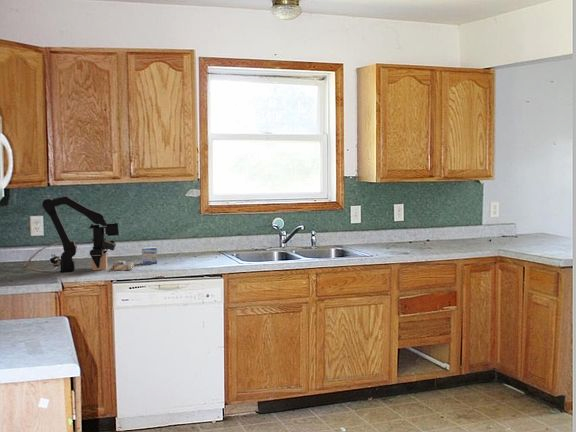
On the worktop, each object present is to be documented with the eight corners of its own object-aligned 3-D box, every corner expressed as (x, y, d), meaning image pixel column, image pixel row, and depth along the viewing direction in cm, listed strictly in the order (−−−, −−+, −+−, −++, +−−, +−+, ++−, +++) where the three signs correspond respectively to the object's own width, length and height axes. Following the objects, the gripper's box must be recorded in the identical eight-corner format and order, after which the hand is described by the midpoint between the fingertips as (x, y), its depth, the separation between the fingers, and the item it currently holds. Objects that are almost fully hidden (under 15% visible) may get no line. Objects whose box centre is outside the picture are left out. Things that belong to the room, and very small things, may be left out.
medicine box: (142, 264, 372) (142, 248, 371) (142, 263, 376) (141, 247, 375) (157, 263, 374) (157, 247, 373) (156, 262, 378) (156, 246, 377)
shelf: (111, 271, 354) (111, 266, 354) (115, 267, 365) (115, 262, 365) (131, 270, 355) (130, 265, 354) (134, 266, 366) (134, 261, 365)
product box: (92, 270, 357) (91, 254, 356) (94, 268, 361) (93, 253, 360) (106, 269, 358) (105, 254, 357) (107, 268, 362) (107, 253, 361)
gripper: (111, 238, 349) (112, 269, 351) (117, 233, 367) (118, 262, 369) (88, 239, 348) (90, 269, 350) (96, 234, 366) (97, 263, 368)
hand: (99, 266), depth 359 cm, fingers open, 9 cm apart
